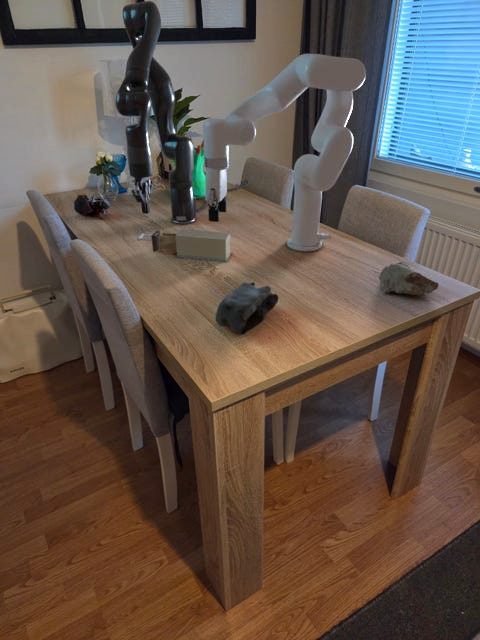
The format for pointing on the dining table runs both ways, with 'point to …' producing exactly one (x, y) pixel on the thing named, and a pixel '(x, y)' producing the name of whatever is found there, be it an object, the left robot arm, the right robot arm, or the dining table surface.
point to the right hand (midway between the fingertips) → (217, 216)
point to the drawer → (161, 241)
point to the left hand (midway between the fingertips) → (145, 212)
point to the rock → (245, 307)
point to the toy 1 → (90, 206)
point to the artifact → (405, 280)
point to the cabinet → (203, 245)
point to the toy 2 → (198, 172)
